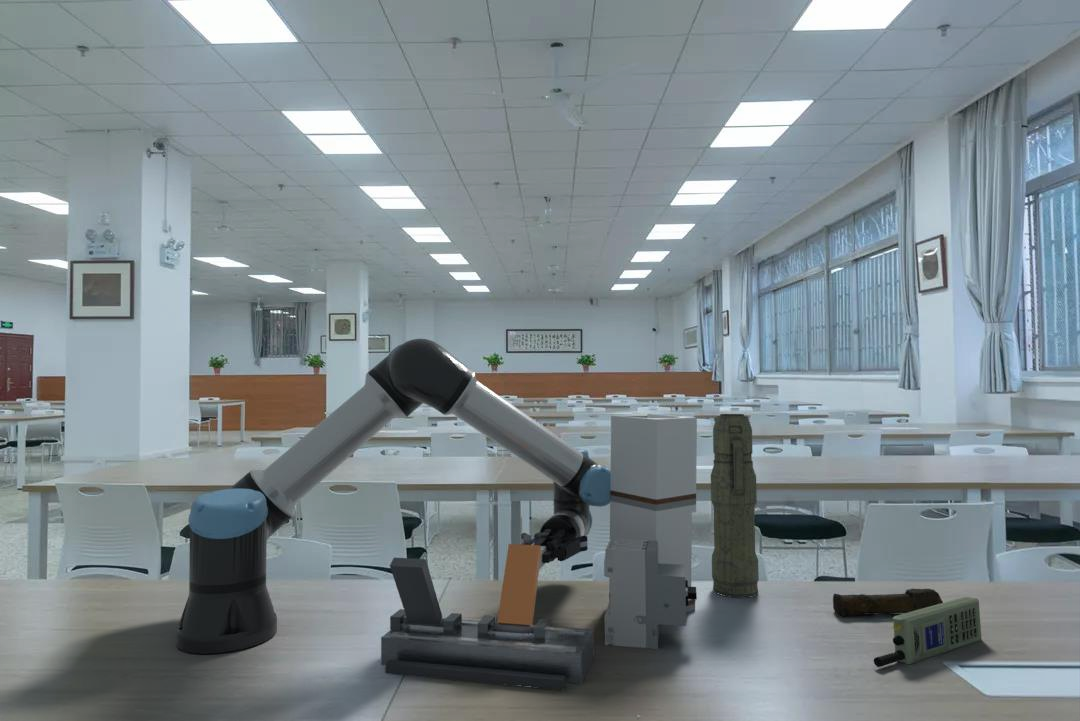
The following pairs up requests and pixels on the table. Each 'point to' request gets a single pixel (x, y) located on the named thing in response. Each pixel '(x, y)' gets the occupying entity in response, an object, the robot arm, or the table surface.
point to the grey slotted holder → (490, 646)
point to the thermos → (734, 508)
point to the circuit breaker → (642, 593)
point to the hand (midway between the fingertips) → (532, 563)
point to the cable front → (475, 674)
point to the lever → (519, 589)
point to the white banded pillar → (655, 485)
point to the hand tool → (885, 602)
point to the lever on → (416, 592)
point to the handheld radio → (934, 631)
